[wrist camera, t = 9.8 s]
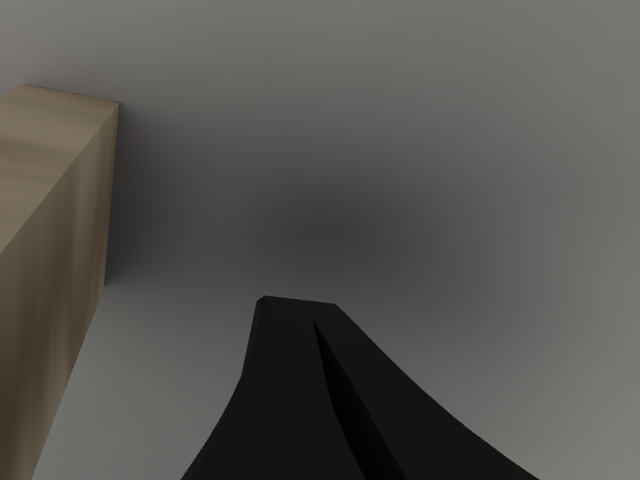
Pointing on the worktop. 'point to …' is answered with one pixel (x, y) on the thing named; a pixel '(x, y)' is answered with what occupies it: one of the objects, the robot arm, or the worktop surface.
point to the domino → (48, 254)
